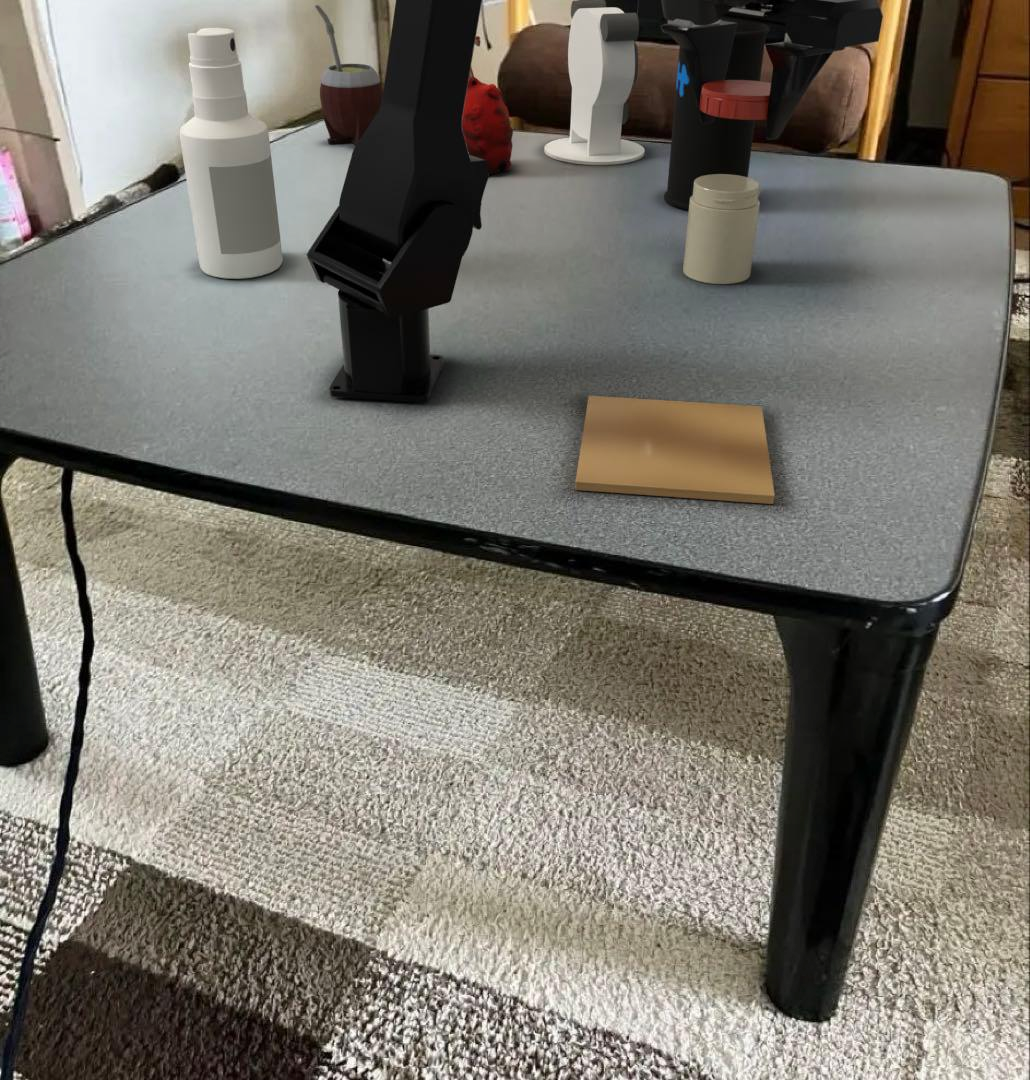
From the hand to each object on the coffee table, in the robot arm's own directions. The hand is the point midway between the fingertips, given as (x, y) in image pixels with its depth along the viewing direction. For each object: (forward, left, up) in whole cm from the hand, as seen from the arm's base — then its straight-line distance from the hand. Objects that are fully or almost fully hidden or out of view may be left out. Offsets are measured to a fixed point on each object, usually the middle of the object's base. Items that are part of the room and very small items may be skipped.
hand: (738, 130), depth 84 cm
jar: (0, 0, -11) cm, 11 cm away
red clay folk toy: (+28, +25, -12) cm, 40 cm away
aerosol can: (+20, +1, -12) cm, 23 cm away
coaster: (-32, +4, -11) cm, 34 cm away
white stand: (+37, +13, -12) cm, 41 cm away
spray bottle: (-5, +40, -12) cm, 42 cm away
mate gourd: (+37, +41, -12) cm, 57 cm away
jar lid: (0, 0, +3) cm, 3 cm away
